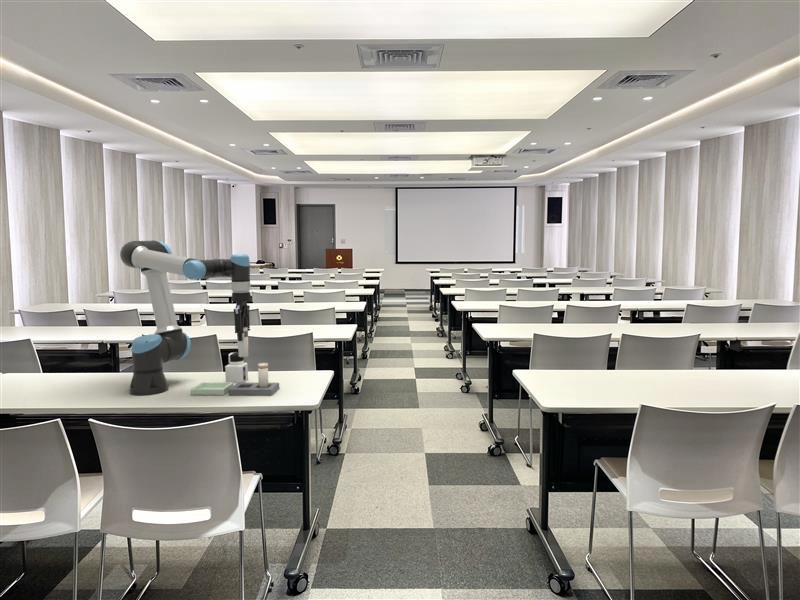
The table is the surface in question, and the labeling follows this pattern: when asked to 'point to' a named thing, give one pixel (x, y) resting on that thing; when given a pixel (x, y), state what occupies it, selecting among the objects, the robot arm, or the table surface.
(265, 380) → the cylinder
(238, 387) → the fuse block
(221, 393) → the parts tray
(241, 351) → the fuse
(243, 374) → the container
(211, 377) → the table surface
